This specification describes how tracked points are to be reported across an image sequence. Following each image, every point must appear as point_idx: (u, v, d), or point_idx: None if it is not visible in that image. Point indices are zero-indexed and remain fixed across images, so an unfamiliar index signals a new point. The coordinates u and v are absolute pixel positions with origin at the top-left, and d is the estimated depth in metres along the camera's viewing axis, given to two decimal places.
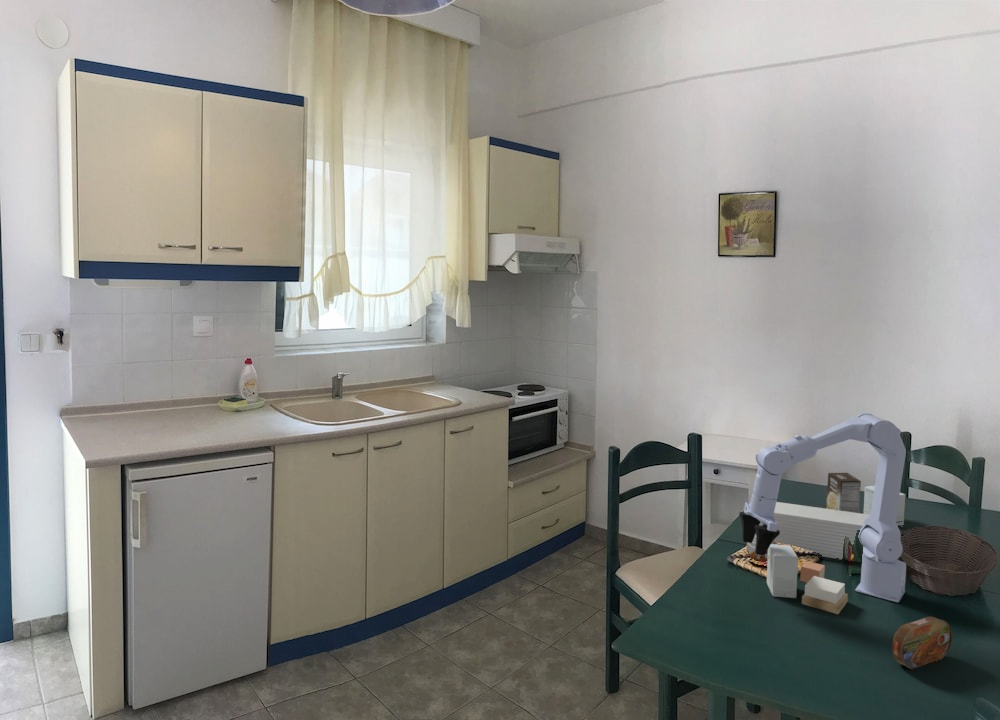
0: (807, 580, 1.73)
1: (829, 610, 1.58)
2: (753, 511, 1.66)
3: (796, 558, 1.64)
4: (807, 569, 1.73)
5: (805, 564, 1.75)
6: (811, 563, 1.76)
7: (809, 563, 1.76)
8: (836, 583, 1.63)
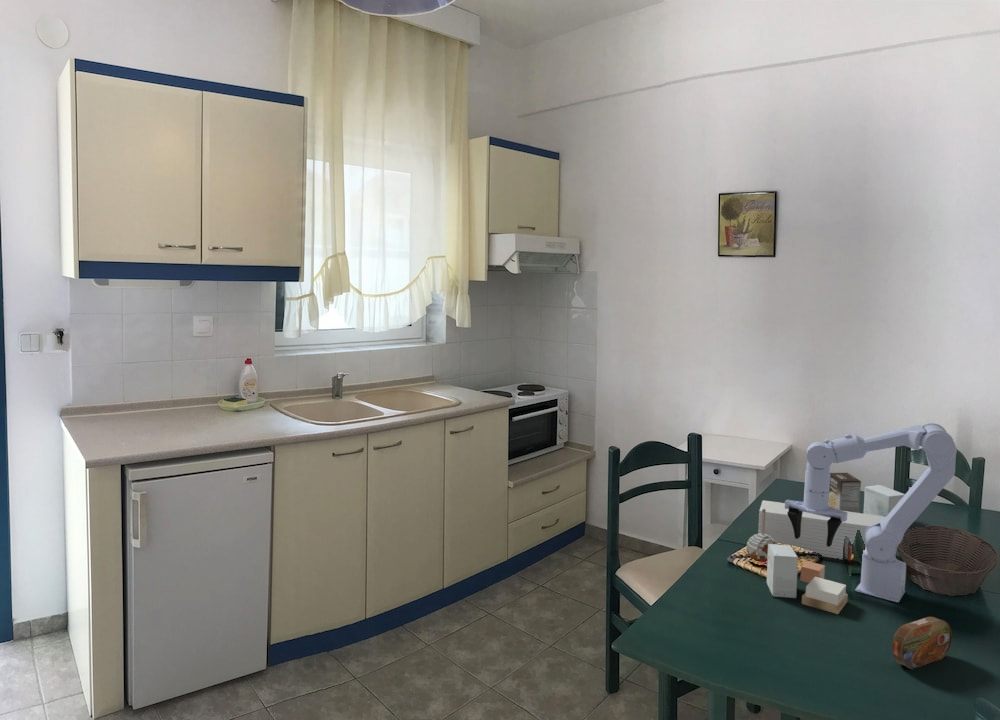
0: (807, 580, 1.73)
1: (829, 610, 1.58)
2: (817, 508, 1.70)
3: (796, 558, 1.64)
4: (807, 569, 1.73)
5: (805, 564, 1.75)
6: (811, 563, 1.76)
7: (809, 563, 1.76)
8: (837, 584, 1.62)
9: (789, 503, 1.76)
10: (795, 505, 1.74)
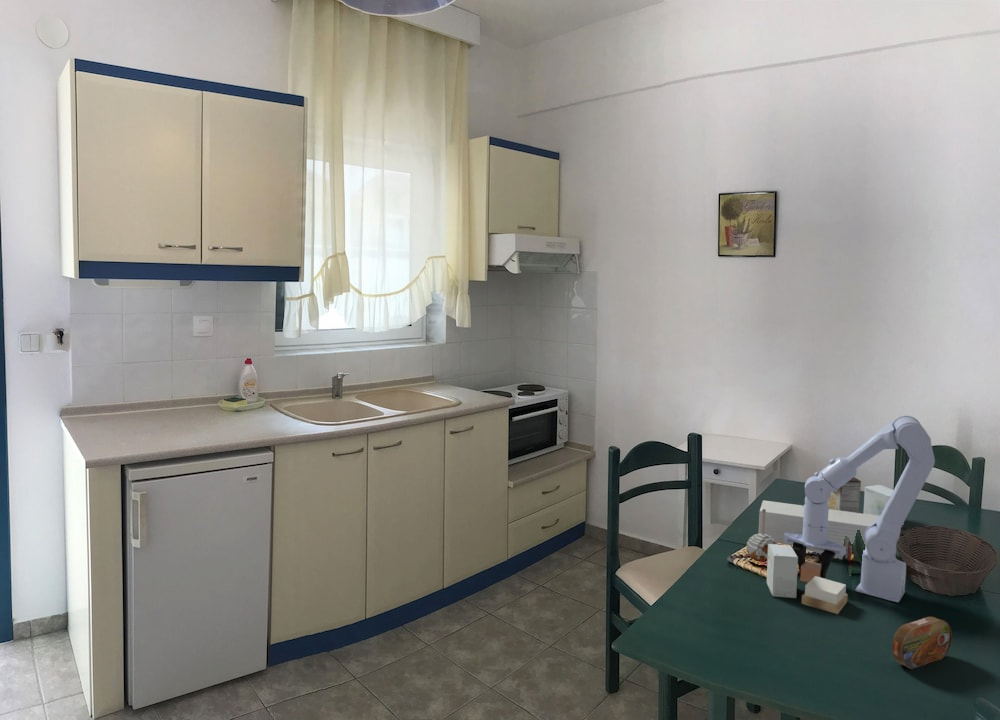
0: (807, 579, 1.73)
1: (829, 610, 1.58)
2: (816, 543, 1.71)
3: (796, 558, 1.64)
4: (807, 568, 1.73)
5: (805, 563, 1.75)
6: (811, 563, 1.76)
7: (809, 562, 1.76)
8: (837, 584, 1.62)
9: (788, 537, 1.77)
10: (794, 539, 1.75)
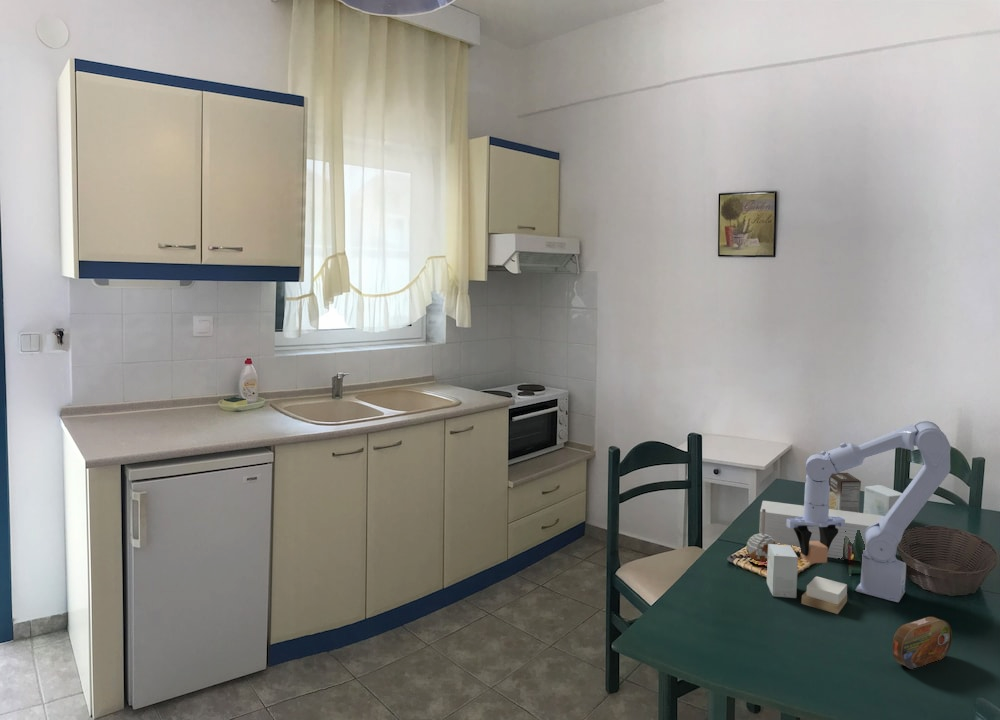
0: (816, 560, 1.72)
1: (829, 610, 1.58)
2: (826, 520, 1.70)
3: (796, 558, 1.64)
4: (816, 549, 1.71)
5: None
6: None
7: None
8: (838, 584, 1.62)
9: (795, 522, 1.71)
10: (802, 523, 1.71)
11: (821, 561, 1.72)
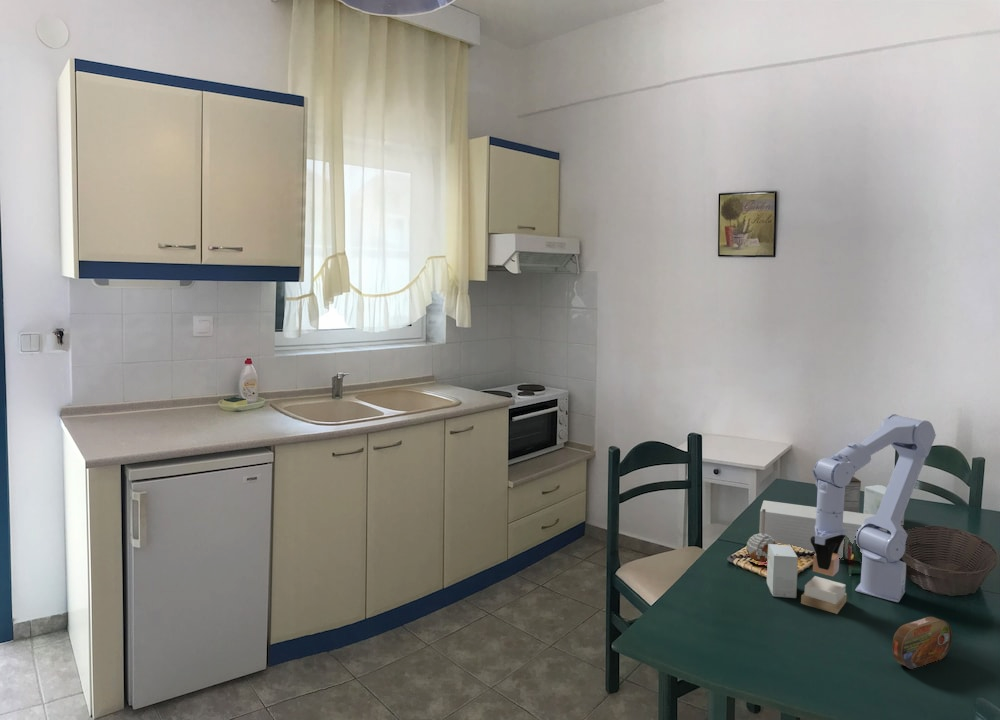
0: (835, 571, 1.60)
1: (828, 609, 1.58)
2: None
3: (796, 558, 1.64)
4: (836, 559, 1.59)
5: None
6: None
7: None
8: (837, 584, 1.62)
9: (826, 537, 1.55)
10: (830, 535, 1.56)
11: (836, 571, 1.61)
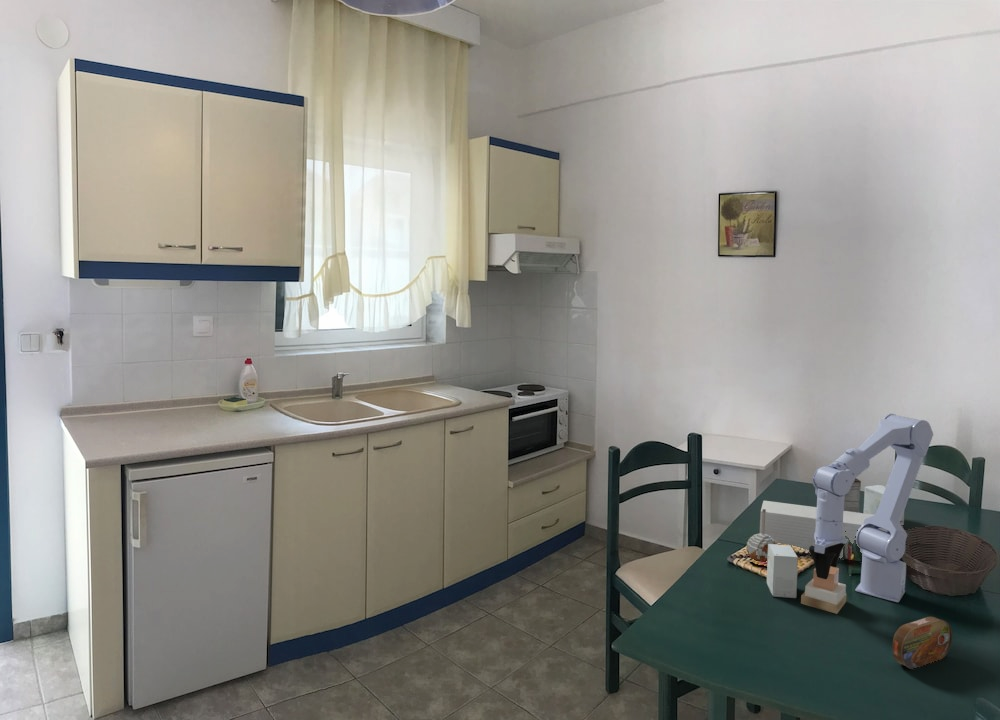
0: (835, 585, 1.60)
1: (828, 610, 1.58)
2: None
3: (796, 558, 1.64)
4: (836, 573, 1.60)
5: None
6: None
7: None
8: None
9: (826, 545, 1.55)
10: (830, 544, 1.56)
11: (836, 585, 1.61)
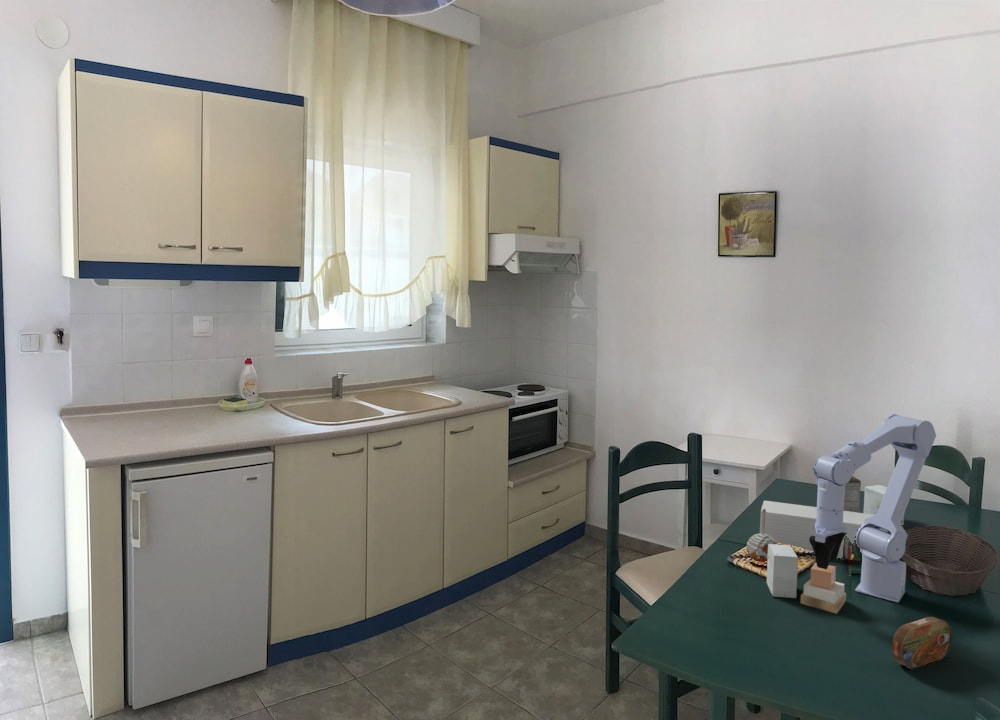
0: (832, 583, 1.61)
1: (828, 609, 1.58)
2: None
3: (796, 558, 1.64)
4: (832, 572, 1.60)
5: (822, 570, 1.60)
6: (816, 567, 1.62)
7: (816, 568, 1.62)
8: (836, 583, 1.63)
9: (826, 534, 1.55)
10: (831, 533, 1.56)
11: (833, 583, 1.62)
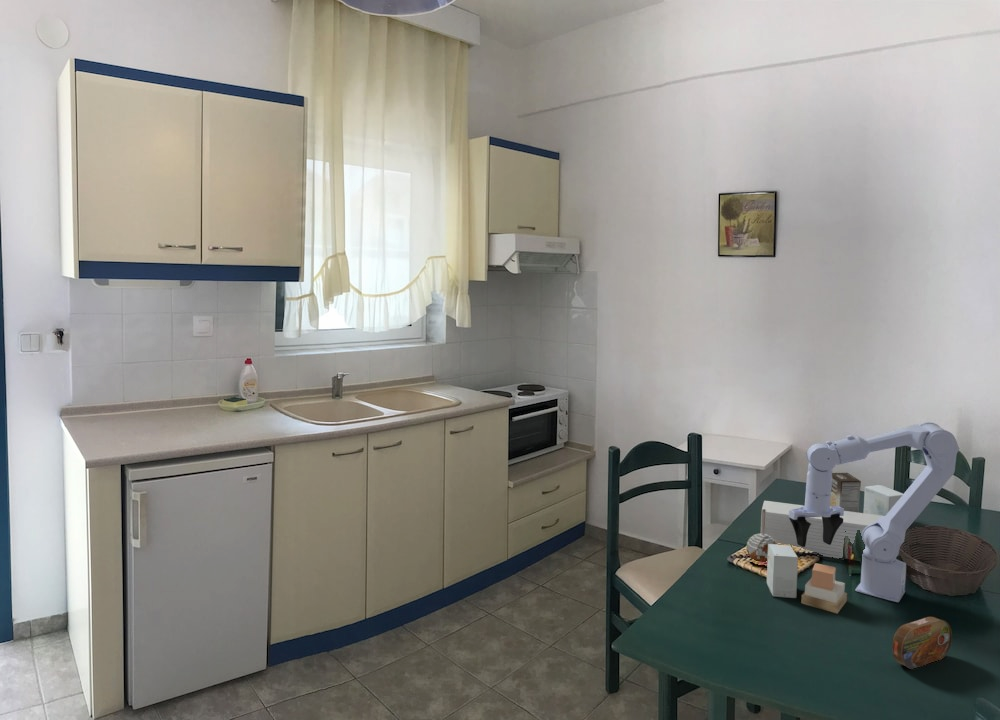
0: (833, 584, 1.60)
1: (828, 609, 1.58)
2: (828, 510, 1.68)
3: (796, 558, 1.64)
4: (834, 573, 1.60)
5: (824, 571, 1.60)
6: (817, 568, 1.62)
7: (817, 569, 1.61)
8: (836, 582, 1.63)
9: (799, 513, 1.68)
10: (806, 513, 1.68)
11: None
